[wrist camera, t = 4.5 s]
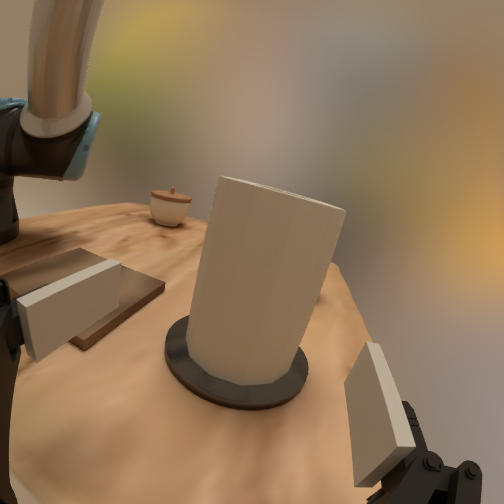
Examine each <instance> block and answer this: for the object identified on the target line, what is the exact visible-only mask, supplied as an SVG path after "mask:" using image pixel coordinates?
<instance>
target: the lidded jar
mask: <svg viewBox="0 0 504 504" xmlns="http://www.w3.org/2000/svg"><path fill="white" fill-rule="evenodd" d="M174 191H175V188H171V191H170V192H169V191H161V190H154V191H152V192H151V200H150V212H151V215H152V217H153V218H154V220H155V222H156V223H157V224H160V225H163V226H170V227H175V226H177V225H178V224H179V223H181V222H182V221H183V220H184V219H185V217H186V216H187V213H188V211H189V207H190V203H191V200H192V198H191V197H189V196H186V195H183V194H179V193H175V192H174Z"/></svg>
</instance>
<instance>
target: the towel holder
mask: <svg viewBox="0 0 504 504" xmlns="http://www.w3.org/2000/svg"><path fill="white" fill-rule="evenodd" d="M188 321H189V315H188V316H186V317H183V318H181V319H180V320H178V321H177V322H175V323H174V324H173V325H172V326H171V328H170V329H169V331H168V333H167V336H166V341H165V357H166V361H167V364H168V366H169V368H170V370H171V371H172V373H173V374H174V376H175V377H176V378H177V379H178V380H179V381H180V382H181V383H182V384H183V385H184V386H185V387H186V388H188V389H189V390H190V391H192V392H193V393H195V394H196V395H198V396H200V397H202V398H204V399H206V400H208V401H211V402H213V403H215V404H219V405H222V406H226V407H230V408H235V409H244V410H260V409H267V408H272V407H275V406H279V405H281V404H283V403H285V402H288V401H289V400H291V399H292V398H293V397H295V396H296V395H297V394H298V393H299V391H300V390H301V388H302V386H303V384H304V382H305V380H306V378H307V375H308V362H307V358H306V356H305V354H304V352H303V351H302V349H301V348H300V347H298V350H297V352H296V354H295V357H294V359H293V362H292V364H291V366H290V368H289V371H288V372H287V373H286V374H284V375H283V376H281V377H280V378H279V379H277V380H276V381H274V382H273V383H271V384H260V385H242V386H241V385H238V384H235V383H232V382H229V381H226V380H223V379H220V378H217V377H214V376H212V375H209V374H208V373H207V372H206V371H205V370H204V369H203V368H201V367H200V366H199V365H198V364H197V363H196V362H195V361H194V360H193V359H192V358H191V357H189V352H188V347H187V343H186V333H187V327H188Z"/></svg>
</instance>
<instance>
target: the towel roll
mask: <svg viewBox="0 0 504 504" xmlns="http://www.w3.org/2000/svg"><path fill="white" fill-rule="evenodd" d="M345 214H346V211H345V210H343V209H341V208H338V207H335V206H332V205H330V204H327V203H324V202H320V201H317V200H314V199H311V198H308V197H304V196H301V195H298V194H294V193H290V192H287V191H283V190H280V189H276V188H272V187H269V186H265V185H261V184H257V183H253V182H249V181H244V180H239V179H235V178H230V177H224V176H219V179H218V183H217V187H216V191H215V196H214V199H213V204H212V208H211V212H210V216H209V221H208V225H207V230H206V234H205V239H204V244H203V248H202V253H201V258H200V263H199V268H198V273H197V278H196V283H195V288H194V294H193V299H192V304H191V310H190V315H189V321H188V327H187V333H186V343H187V347H188V352H189V357H191V358H192V359H193V360H194V361H195V362H196V363H197V364H198V365H199V366H200V367H201V368H203V369H204V370H205V371H206V372H207V373H208V374H209V375H212V376H214V377H217V378H220V379H223V380H226V381H229V382H232V383H235V384H238V385H241V386H242V385H260V384H271V383H273V382H274V381H276V380H277V379H279V378H280V377H281V376H283V375H284V374H286V373H287V372H288V371H289V368H290V366H291V364H292V362H293V359H294V357H295V354H296V352H297V350H298V347H299V345H300V342H301V340H302V338H303V335H304V333H305V330H306V328H307V325H308V322H309V320H310V317H311V315H312V312H313V309H314V307H315V304H316V301H317V299H318V296H319V293H320V291H321V288H322V285H323V282H324V279H325V276H326V274H327V271H328V268H329V265H330V262H331V259H332V256H333V253H334V250H335V247H336V243H337V240H338V237H339V234H340V231H341V228H342V224H343V221H344V218H345Z"/></svg>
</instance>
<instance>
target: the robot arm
mask: <svg viewBox="0 0 504 504" xmlns="http://www.w3.org/2000/svg"><path fill="white" fill-rule="evenodd" d="M103 3H104V0H35V1H34V6H33V12H32V19H31V26H30V35H29V46H28V66H27V68H28V69H27V91H28V101H27V100H25V99H22V98H0V244H2V243H5V242H7V241H10V240H12V239H13V238H15V237H16V236H17V235H18V233H19V218H18V213H17V209H16V204H15V199H14V194H13V182H14V176H23V177H33V178H42V179H51V180H59V181H63V180H71V181H75V180H78V179H80V178H81V177H82V176H83V174H84V171H85V168H86V165H87V162H88V158H89V155H90V151H91V148H92V145H93V141H94V138H95V135H96V132H97V129H98V126H99V122H100V118H101V115H100V114H99V113H97V112H96V111H92V112H91V108H92V102H91V99H90V97H89V95H88V94H87V93H86V92H84V87H85V80H86V74H87V68H88V62H89V57H90V52H91V47H92V43H93V39H94V35H95V31H96V27H97V23H98V20H99V16H100V13H101V9H102V6H103ZM120 275H121V262H119V261H116V260H114V259H108V260H106V261H103V262H101V263H98V264H96V265H94V266H91V267H89V268H86V269H84V270H81V271H79V272H77V273H74V274H72V275H70V276H67V277H65V278H63V279H60V280H58V281H56V282H53V283H49V284H45V285H43V286H41V287H39V288H36V289H34V290H32V291H29V292H27V293H25V294H23V295H21V296H18V297H16V298H14V299H12V300H11V298H10V291H9V283H8V281H7V280H5V279H3V278H0V504H18V503H17V499H16V496H15V493H14V491H13V489H12V487H11V484H10V478H9V431H10V418H11V408H12V400H13V393H14V386H15V380H16V375H17V369H18V365H19V360H20V355H21V348H20V346H21V345H23V344H25V347H26V351H27V354H28V355H29V356H30V357H31V358H32V359H33V360H34V361H36V362H37V363H38V362H39V361H41V360H42V359H43V358H45V357H46V356H48V355H49V354H51V353H52V352H53V351H55V350H56V349H58V348H59V347H60V346H62V345H63V344H65V343H66V342H68V341H69V340H71V339H72V338H73V337H75V336H76V335H78V334H79V333H81V332H82V331H84V330H85V329H86V328H88V327H89V326H91V325H92V324H94V323H95V322H97V321H98V320H100V319H101V318H103V317H104V316H106V315H107V314H109V313H110V312H112V311H113V310H115V309H116V308H118V307H119V290H120ZM344 387H345V394H346V402H347V410H348V418H349V428H350V437H351V448H352V461H353V475H354V487H373V486H374V485H375V484H377V483H378V482H379V481H380V480H381V485H382V488H381V489H379V490H378V491H377V492H375V493H374V494H373V495H372V496H370V497H369V498H368V499H366V500H367V501H368V502H367V504H480V502H481V489H482V472H481V469H480V467H479V466H478V465H477V464H476V463H475V462H473V461H468V460H467V461H464V462H463V463H462V464H461V465H460V466H458V467H457V468H453V467H448V466H444V464H443V461H442V459H441V458H440V457H439V456H438V455H437V454H436V453H434V452H431V451H428V449H427V446H426V443H425V440H424V437H423V434H422V431H421V429H420V427H419V423H418V420H417V417H416V414H415V412H414V409H413V408H412V407H411V406H410V404H409V403H408V402H407V401H401V399H400V396H399V394H398V391H397V388H396V385H395V383H394V380H393V377H392V375H391V372H390V370H389V368H388V364H387V362H386V359H385V357H384V354H383V352H382V349H381V347H380V345H379V344H376V343H372V342H368V341H366V343H365V345H364V347H363V349H362V350H361V352H360V354H359V356H358V358H357V360H356V362H355V364H354V366H353V368H352V369H351V371H350V373H349V375H348V377H347V378H346V380H345V382H344Z"/></svg>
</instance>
